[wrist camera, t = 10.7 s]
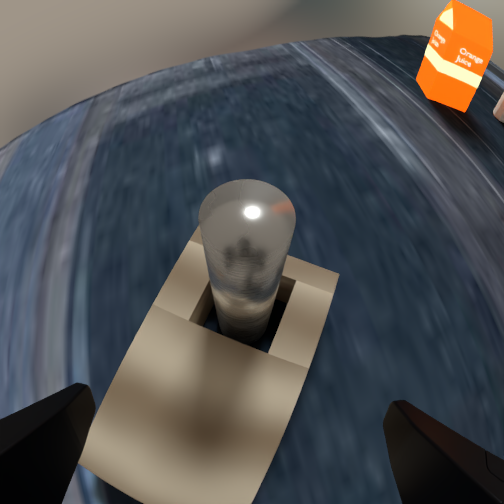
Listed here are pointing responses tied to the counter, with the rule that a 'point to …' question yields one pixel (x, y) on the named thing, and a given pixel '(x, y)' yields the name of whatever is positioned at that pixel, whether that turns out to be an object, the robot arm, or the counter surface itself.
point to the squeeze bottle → (499, 109)
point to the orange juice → (456, 56)
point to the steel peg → (245, 253)
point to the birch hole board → (205, 391)
